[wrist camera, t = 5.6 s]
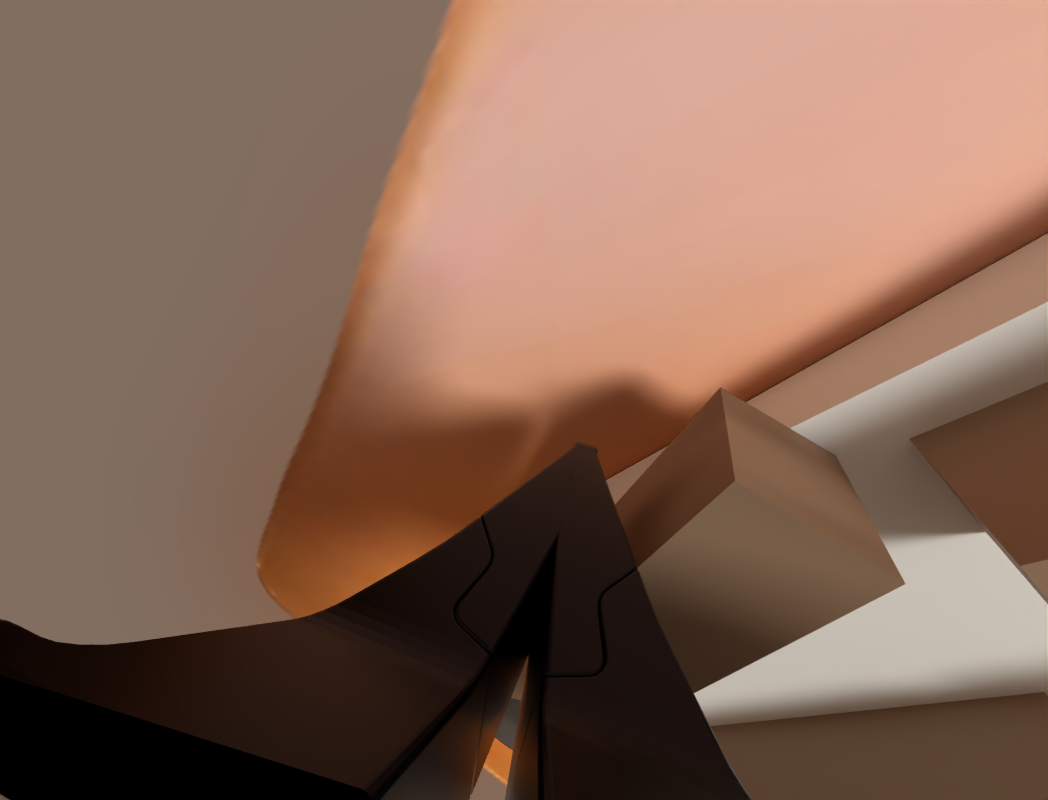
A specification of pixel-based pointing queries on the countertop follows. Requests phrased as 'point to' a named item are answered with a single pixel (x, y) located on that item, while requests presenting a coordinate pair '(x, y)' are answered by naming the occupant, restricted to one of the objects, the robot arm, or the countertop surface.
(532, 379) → the countertop surface
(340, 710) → the robot arm
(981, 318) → the tray of grey blocks
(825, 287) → the countertop surface
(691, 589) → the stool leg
